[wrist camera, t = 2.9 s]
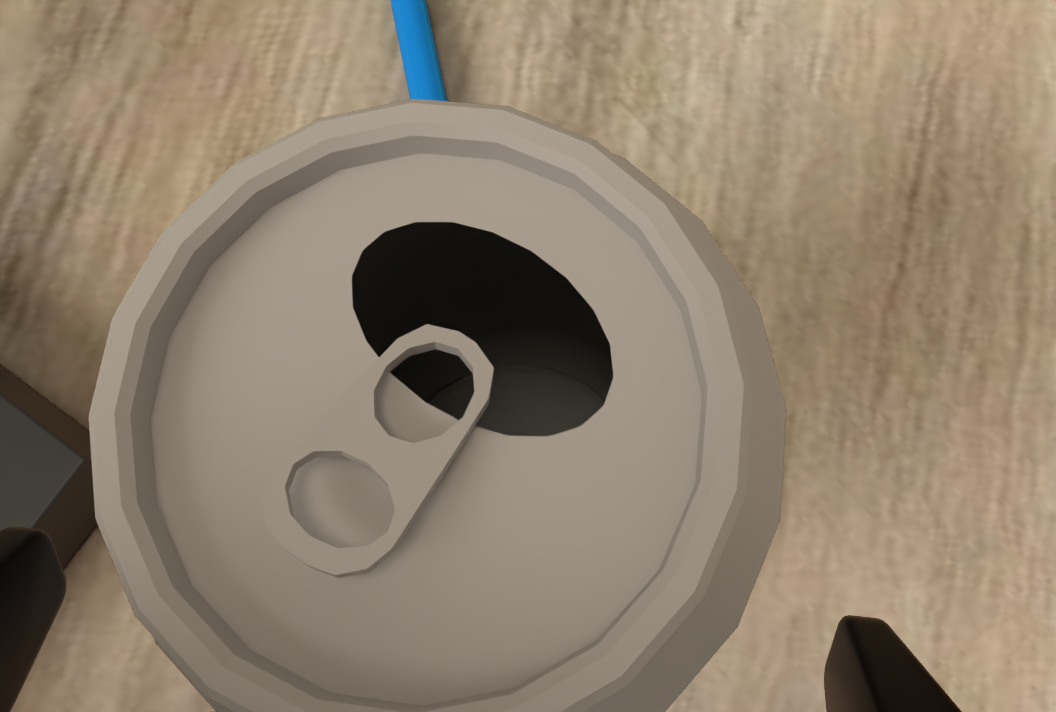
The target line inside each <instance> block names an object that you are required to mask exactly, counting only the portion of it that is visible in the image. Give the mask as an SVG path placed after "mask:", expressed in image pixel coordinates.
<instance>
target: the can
mask: <svg viewBox="0 0 1056 712" xmlns="http://www.w3.org/2000/svg"><path fill="white" fill-rule="evenodd" d="M786 410H787V409H786V406H785V402H784V398H783V395H782V391H781V387H780V383H779V380H778V376H777V372H776V369H775V365H774V361H773V358H772V354H771V350H770V347H769V343H768V339H767V335H766V332H765V328H764V324H763V321H762V317H761V313H760V310H759V306H758V305H757V303H756V302H755V300H754V299H753V297H752V296H751V294H750V293H749V291H748V290H747V288H746V287H745V285H744V283H743V282H742V280H741V279H740V277H739V276H738V274H737V273H736V271H735V270H734V268H733V267H732V265H731V264H730V262H729V261H728V259H727V258H726V256H725V255H724V253H723V252H722V250H721V249H720V247H719V245H718V244H717V242H716V241H715V239H714V238H713V236H712V235H711V233H710V232H709V230H708V229H707V227H706V226H705V224H704V223H703V221H702V220H701V219H699V218H698V217H697V216H696V215H694V214H693V213H692V212H691V211H689V210H688V209H687V208H686V207H685V206H683V205H682V204H681V203H680V202H678V201H677V200H676V199H675V198H673V197H672V196H671V195H670V194H668V193H667V192H666V191H665V190H663V189H662V188H661V187H660V186H658V185H657V184H656V183H655V182H653V181H652V180H651V179H650V178H648V177H647V176H646V175H645V174H644V173H642V172H641V171H640V170H639V169H637V168H636V167H635V166H634V165H632V164H631V163H630V162H629V161H627V160H626V159H625V158H623V157H620V156H618V155H615V154H612V153H611V152H610V151H609V150H607V149H606V148H605V147H604V146H602V145H601V144H600V143H599V142H597V141H596V140H593V139H590V138H588V137H585V136H583V135H580V134H578V133H575V132H573V131H570V130H567V129H565V128H562V127H560V126H557V125H555V124H552V123H550V122H547V121H544V120H542V119H539V118H537V117H534V116H532V115H529V114H527V113H524V112H521V111H519V110H516V109H514V108H511V107H509V106H499V105H487V104H474V103H461V102H448V101H436V100H423V99H409V100H404V101H400V102H395V103H390V104H385V105H381V106H376V107H371V108H366V109H362V110H357V111H352V112H347V113H343V114H338V115H333V116H328V117H324V118H319V119H317V120H315V121H313V122H311V123H310V124H308V125H306V126H304V127H302V128H300V129H298V130H296V131H294V132H292V133H291V134H289V135H287V136H285V137H283V138H281V139H279V140H277V141H275V142H274V143H272V144H270V145H268V146H266V147H264V148H262V149H260V150H258V151H257V152H255V153H253V154H251V155H249V156H247V157H245V158H243V159H241V160H239V161H238V162H236V163H234V164H233V165H232V166H231V167H229V168H228V169H227V170H226V171H225V172H224V173H223V174H222V175H221V176H220V177H219V178H218V179H217V180H216V181H215V182H214V183H213V184H212V185H211V186H210V187H209V188H208V189H206V190H205V191H204V192H203V193H202V194H201V195H200V196H199V197H198V198H197V199H196V200H195V201H194V202H193V203H192V204H191V205H190V206H189V207H188V208H187V209H186V210H184V211H183V212H182V213H181V214H180V215H179V216H178V217H177V218H176V219H175V220H174V221H173V222H172V223H171V224H170V225H169V226H168V227H167V228H166V229H165V230H164V231H163V232H162V233H161V235H160V237H159V238H158V240H157V242H156V244H155V245H154V247H153V249H152V250H151V252H150V254H149V256H148V257H147V259H146V261H145V262H144V264H143V266H142V268H141V269H140V271H139V273H138V274H137V276H136V278H135V280H134V281H133V283H132V285H131V286H130V288H129V290H128V292H127V293H126V295H125V297H124V298H123V300H122V302H121V304H120V305H119V307H118V309H117V310H116V312H115V314H114V316H113V317H112V321H111V325H110V329H109V333H108V338H107V342H106V346H105V350H104V354H103V358H102V362H101V366H100V371H99V375H98V379H97V383H96V387H95V391H94V395H93V399H92V404H91V408H90V412H89V431H90V446H91V461H92V476H93V491H94V507H95V519H96V521H97V524H98V526H99V529H100V531H101V534H102V536H103V539H104V541H105V544H106V546H107V548H108V551H109V553H110V556H111V558H112V561H113V563H114V566H115V568H116V571H117V573H118V575H119V578H120V580H121V583H122V585H123V588H124V590H125V593H126V595H127V598H128V600H129V602H130V605H131V607H132V610H133V612H134V615H135V616H136V617H137V618H138V620H139V621H140V622H141V623H142V624H143V625H144V626H145V628H146V629H147V630H148V631H149V632H150V633H151V634H152V635H153V637H154V639H155V642H156V644H157V645H158V646H159V647H160V649H161V650H162V651H163V652H164V653H165V654H166V655H167V656H168V658H169V659H170V660H171V661H172V662H173V663H174V664H175V666H176V667H177V668H178V669H179V670H180V671H181V672H182V673H183V675H184V676H185V677H186V678H187V679H188V680H189V681H190V683H191V684H192V685H193V686H194V687H195V688H196V689H197V690H198V692H199V693H200V694H201V695H202V696H203V697H204V698H205V700H206V701H207V702H208V703H209V704H210V705H211V706H212V707H213V709H214V710H215V711H216V712H665V711H666V710H667V709H668V708H669V707H670V705H671V704H672V703H673V702H674V701H675V700H676V698H677V697H678V696H679V695H680V694H681V693H682V691H683V690H684V689H685V688H686V687H687V686H688V684H689V683H690V682H691V681H692V680H693V678H694V677H695V676H696V675H697V674H698V673H699V671H700V670H701V669H702V668H703V667H704V666H705V664H706V663H707V662H708V661H709V660H710V659H711V657H712V656H713V655H714V654H715V653H716V652H717V650H718V649H719V648H720V647H721V646H722V645H723V643H724V642H725V641H726V640H727V639H728V638H729V636H730V635H731V634H732V633H733V632H734V631H735V629H736V628H737V627H738V625H739V622H740V620H741V617H742V615H743V612H744V610H745V607H746V605H747V602H748V600H749V597H750V595H751V592H752V590H753V587H754V585H755V582H756V580H757V577H758V575H759V572H760V570H761V567H762V565H763V562H764V560H765V557H766V555H767V552H768V550H769V547H770V545H771V542H772V540H773V537H774V535H775V532H776V530H777V527H778V525H779V522H780V516H781V498H782V481H783V463H784V445H785V427H786Z"/></svg>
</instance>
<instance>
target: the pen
mask: <svg viewBox="0 0 1056 712" xmlns="http://www.w3.org/2000/svg"><path fill="white" fill-rule="evenodd" d="M391 5H392V10H393V15H394V20H395V25H396V30H397V35H398V40H399V45H400V50H401V55H402V60H403V65H404V70H405V75H406V80H407V85H408V90H409V95H410V99H423V100H436V101H447V98H446V94H445V89H444V84H443V80H442V75H441V70H440V65H439V61H438V56H437V51H436V47H435V42H434V37H433V32H432V28H431V23H430V18H429V14H428V9H427V4H426V0H391Z"/></svg>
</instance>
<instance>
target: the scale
mask: <svg viewBox="0 0 1056 712" xmlns="http://www.w3.org/2000/svg"><path fill="white" fill-rule="evenodd" d="M96 524H97V521H96V519H95V507H94V491H93V476H92V461H91V446H90V432H89V431H88V430H86V429H85V428H84V427H82V426H81V425H80V424H78V423H77V422H76V421H74V420H73V419H72V418H70V417H69V416H68V415H66V414H65V413H64V412H62V411H61V410H60V409H58V408H57V407H56V406H54V405H53V404H52V403H50V402H49V401H48V400H46V399H45V398H44V397H42V396H41V395H40V394H38V393H37V392H36V391H34V390H33V389H32V388H31V387H29V386H28V385H27V384H25V383H24V382H23V381H21V380H20V379H19V378H17V377H16V376H15V375H13V374H12V373H11V372H9V371H8V370H7V369H5V368H4V367H3V366H1V365H0V531H1V530H3V529H5V528H8V527H23V528H32V529H40V530H43V531H45V532H46V533H47V534H48V535H49V536H50V538H51V540H52V543H53V545H54V548H55V550H56V553H57V556H58V558H59V561H60V564H61V566H62V569H63V568H64V567H65V565H66V564H67V563H68V561H69V560H70V559H71V557H72V556H73V555H74V553H75V552H76V551H77V549H78V548H79V547H80V545H81V544H82V543H83V541H84V540H85V539H86V538H87V536H88V535H89V534H90V532H91V531H92V530H93V528H94V527H95V526H96Z"/></svg>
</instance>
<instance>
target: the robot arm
mask: <svg viewBox="0 0 1056 712" xmlns="http://www.w3.org/2000/svg"><path fill="white" fill-rule="evenodd" d="M65 592H66V577H65V574H64V571H63V569H62V566H61V564H60V561H59V558H58V556H57V553H56V550H55V548H54V545H53V543H52V540H51V538H50V536H49V535H48V534H47V533H46V532H45V531H43V530H40V529H32V528H23V527H8V528H5V529H3V530H1V531H0V712H10V711H11V709H12V707H13V705H14V703H15V701H16V699H17V697H18V695H19V693H20V690H21V688H22V686H23V684H24V682H25V680H26V678H27V676H28V674H29V671H30V669H31V667H32V665H33V663H34V661H35V659H36V657H37V655H38V652H39V650H40V648H41V646H42V644H43V642H44V640H45V638H46V636H47V634H48V631H49V629H50V627H51V625H52V623H53V621H54V619H55V617H56V615H57V612H58V610H59V608H60V606H61V604H62V602H63V599H64V596H65ZM824 689H825V699H826V710H827V712H962V711H961V710H960V709H959V708H958V707H957V706H956V704H955V703H954V702H953V701H952V700H951V698H950V697H949V696H948V695H947V694H946V693H945V691H944V690H943V689H942V688H941V687H940V685H939V684H938V683H937V682H936V681H935V680H934V678H933V677H932V676H931V675H930V674H929V672H928V671H927V670H926V669H925V668H924V666H923V665H922V664H921V663H920V662H919V661H918V659H917V658H916V657H915V656H914V655H913V653H912V652H911V651H910V650H909V649H908V648H907V646H906V645H905V644H904V643H903V642H902V640H901V639H900V638H899V637H898V636H897V635H896V633H895V632H894V631H893V630H892V629H891V627H890V626H889V625H888V624H887V623H885V622H884V621H883V620H881V619H878V618H870V617H861V616H851V615H848V616H845V617H843V618H842V619H841V620H840V622H839V624H838V627H837V630H836V633H835V637H834V640H833V643H832V646H831V649H830V652H829V655H828V658H827V661H826V665H825V672H824Z"/></svg>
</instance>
